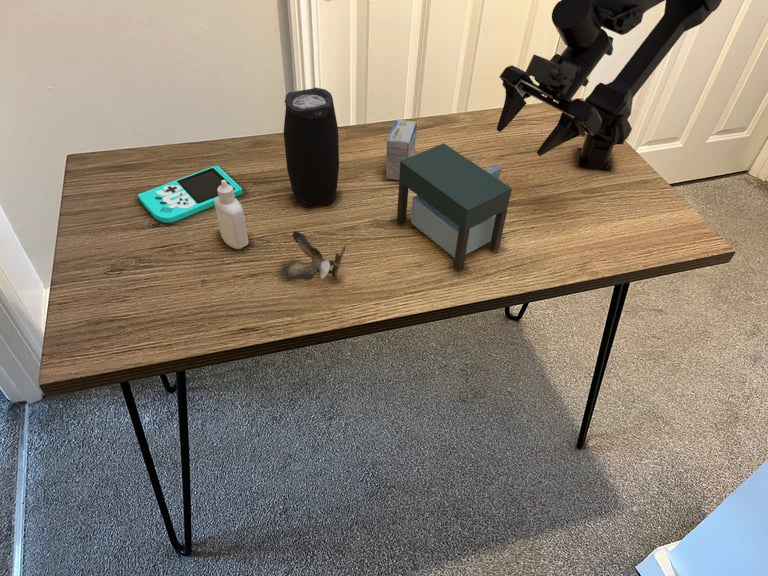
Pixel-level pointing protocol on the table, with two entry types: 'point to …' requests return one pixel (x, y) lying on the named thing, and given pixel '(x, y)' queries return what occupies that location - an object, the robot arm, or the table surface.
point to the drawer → (450, 224)
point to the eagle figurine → (317, 265)
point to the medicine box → (400, 146)
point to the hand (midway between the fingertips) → (517, 142)
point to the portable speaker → (311, 146)
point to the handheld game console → (186, 195)
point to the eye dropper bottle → (230, 217)
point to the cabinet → (454, 193)
